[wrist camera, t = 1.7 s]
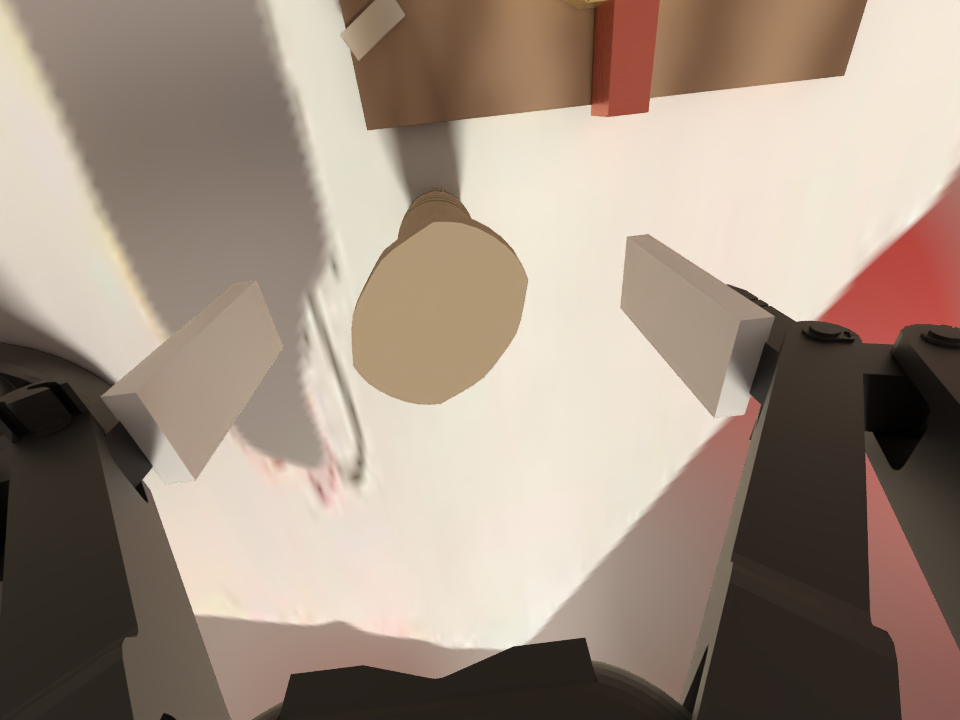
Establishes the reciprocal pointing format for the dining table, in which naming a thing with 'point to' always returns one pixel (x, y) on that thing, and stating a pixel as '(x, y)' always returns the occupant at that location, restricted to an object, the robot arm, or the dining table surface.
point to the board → (575, 52)
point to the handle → (437, 304)
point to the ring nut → (622, 54)
